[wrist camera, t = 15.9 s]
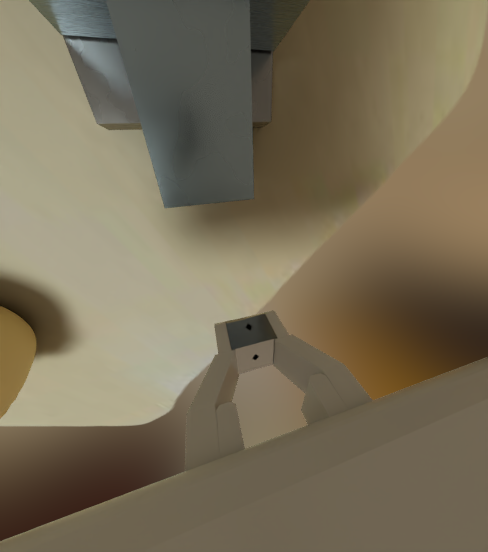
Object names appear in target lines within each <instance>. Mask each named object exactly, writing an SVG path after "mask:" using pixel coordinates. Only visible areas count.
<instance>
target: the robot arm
mask: <svg viewBox="0 0 488 552" xmlns="http://www.w3.org/2000/svg"><path fill="white" fill-rule="evenodd" d="M215 333H216V340H217V347H218V354H217V355H215V357H214V359H213V361H212V363H211V365H210V367H209V369H208V371H207V373H206V375H205V377H204V379H203V381H202V383H201V385H200V388H199V390H198V392H197V394H196V396H195V398H194V400H193V402H192V404H191V406H190V408H189V410H188V413H187V418H186V419H187V420H186V453H185V472H183V473H180V474H178V475H175V476H172V477H170V478H167V479H164V480H162V481H159V482H156V483H154V484H151V485H148V486H146V487H143V488H140V489H138V490H135V491H133V492H130V493H127V494H125V495H122V496H120V497H117V498H114V499H111V500H109V501H106V502H103V503H101V504H98V505H96V506H93V507H90V508H88V509H85V510H82V511H80V512H77V513H74V514H72V515H69V516H66V517H64V518H61V519H59V520H56V521H53V522H51V523H48V524H45V525H43V526H40V527H38V528H35V529H32V530H30V531H27V532H24V533H21V534H19V535H16V536H14V537H11V538H8V539H6V540H3V541H0V552H488V357H487V358H484V359H481V360H479V361H476V362H474V363H471V364H468V365H466V366H463V367H460V368H458V369H455V370H453V371H450V372H447V373H444V374H442V375H439V376H436V377H434V378H431V379H429V380H426V381H423V382H421V383H418V384H416V385H413V386H410V387H408V388H405V389H402V390H399V391H397V392H394V393H392V394H389V395H387V396H384V397H382V398H378V399H376V400H372V399H371V398H370V397H369V395H368V394H367V393H366V391H365V390H364V389H363V388H362V386H361V385H360V384H359V382H358V381H357V380H356V379H355V377H354V376H353V375H352V374H351V373H350V371H349V370H348V369H347V367H346V366H345V365H344V364H343V363H341V362H339V361H337V360H336V359H334V358H332V357H330V356H329V355H327V354H325V353H323V352H322V351H320V350H318V349H316V348H315V347H313V346H311V345H309V344H308V343H306V342H304V341H303V340H301V339H299V338H297V337H296V336H294V335H289V334H288V332H287V331H286V329H285V327H284V326H283V324H282V322H281V321H280V319H279V318H278V316H277V314H276V313H275V311H269V312H265V313H260V314H256V315H252V316H248V317H245V318H240V319H235V320H230V321H225V322H222V323H217V324H215ZM273 364H274V366H275V367H276V368H277V369H278V370H279V371H280V372H281V373H283V374H284V375H285V376H286V377H287V378H288V379H290V380H291V381H292V382H293V383H294V384H295V385H296V386H297V387H298V388H300V389H301V390H302V391H303V392H304V393H305V397H304V401H303V405H302V409H301V410H302V413H303V415H304V417H305V419H306V422H307V424H308V425H307V426H305V427H302V428H299V429H297V430H294V431H291V432H289V433H286V434H283V435H281V436H278V437H275V438H273V439H270V440H267V441H265V442H262V443H259V444H257V445H254V446H251V447H249V448H246V449H245V448H244V443H243V438H242V433H241V428H240V423H239V418H238V413H237V408H236V404H235V403H233V402H232V399H233V396H234V392H235V388H236V385H237V381H238V377H239V374H242V373H245V372H248V371H251V370H254V369H258V368H262V367H265V366H269V365H273Z"/></svg>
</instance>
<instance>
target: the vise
mask: <svg viewBox="0 0 488 552" xmlns="http://www.w3.org/2000/svg"><path fill="white" fill-rule="evenodd" d="M63 37H64V40H65V42H66V45H67V48H68V50H69V53H70V55H71V58H72V61H73V63H74V66H75V68H76V71H77V73H78V76H79V79H80V81H81V84H82V86H83V89H84V91H85V94H86V97H87V99H88V102H89V104H90V107H91V109H92V112H93V115H94V117H95V120H96V122H97V124H99V125H101V126H102V127H104V128H106V129H108V130H129V129H142V126H141V122H140V119H139V115H138V112H137V108H136V105H135V101H134V98H133V94H132V91H131V87H130V84H129V80H128V77H127V73H126V70H125V66H124V63H123V59H122V56H121V52H120V49H119V45H118V42H117V39H111V38H97V37H84V36H71V35H63ZM272 63H273V51H268V50H255V49H251V84H252V127H263V126H265V125H267V124H268V123H270V122H271V108H272Z"/></svg>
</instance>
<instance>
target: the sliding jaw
mask: <svg viewBox="0 0 488 552" xmlns="http://www.w3.org/2000/svg"><path fill="white" fill-rule="evenodd" d="M29 1H30V2H31V3H32V4H33V5H34V6H35V7H36V8H37V9H38V10H39V12H40V13H41V14H42V15H43V16H44V17H45V18H46V19H47V20H48V21H49V22H50V23H51V24H52V25H53V27H54V28H55V29H56V30H57V31H58V32H59V33H60V34H61V35H71V36H84V37H97V38H111V39H117V42H118V45H119V49H120V52H121V56H122V59H123V63H124V66H125V70H126V73H127V77H128V80H129V84H130V87H131V91H132V94H133V98H134V101H135V105H136V108H137V112H138V115H139V119H140V122H141V126H142V129H143V133H144V136H145V140H146V143H147V147H148V150H149V154H150V157H151V161H152V164H153V168H154V171H155V175H156V179H157V182H158V186H159V189H160V193H161V196H162V200H163V203H164V207H165V208H172V207H181V206H191V205H201V204H210V203H220V202H229V201H239V200H249V199H254V174H253V129H252V84H251V49H255V50H268V51H274V50H275V49H276V47H277V46H278V45H279V43H280V42H281V40H282V39H283V37H284V36H285V35H286V33H287V32H288V30H289V29H290V28H291V26H292V25H293V23H294V22H295V21H296V19H297V18H298V16H299V15H300V13H301V12H302V11H303V9H304V8H305V6H306V5H307V4H308V2H309V1H310V0H29Z"/></svg>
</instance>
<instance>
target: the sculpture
mask: <svg viewBox="0 0 488 552" xmlns="http://www.w3.org/2000/svg"><path fill="white" fill-rule="evenodd" d="M35 353H36V337H35V334H34V332H33V330H32V328H31V327H30V326H29V325H28V324H27V323H26V322H25V321H24V320H23V319H22V318H21V317H19V316H18V315H17V314H15V313H13V312H12V311H10V310H8V309H6V308H4V307H2V306H0V418H1V417H2V416H3V415H4V414H5V413H6V412H7V410H8V409H9V407H10V405H11V404H12V403H13V401H14V400H15V399H16V398H17V395H18V393H19V392H20V390H21V388H22V387H23V385H24V383H25V381H26V379H27V376H28V374H29V371H30V368H31V366H32V363H33V360H34V357H35Z"/></svg>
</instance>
